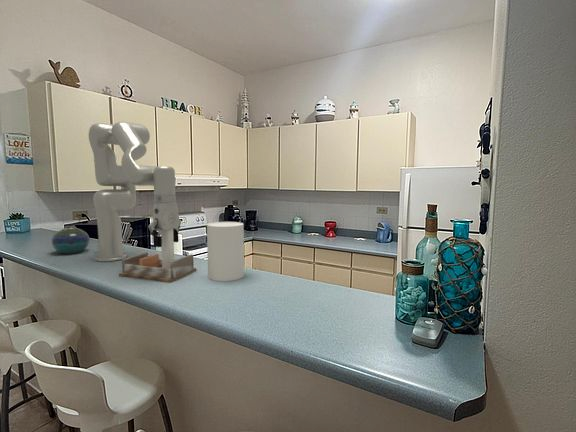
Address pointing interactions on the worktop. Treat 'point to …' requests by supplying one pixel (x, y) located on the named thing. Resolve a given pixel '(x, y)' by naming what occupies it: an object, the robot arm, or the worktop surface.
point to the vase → (70, 240)
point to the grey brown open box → (157, 269)
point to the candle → (167, 248)
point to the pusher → (150, 261)
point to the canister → (225, 250)
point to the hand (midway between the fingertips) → (166, 244)
